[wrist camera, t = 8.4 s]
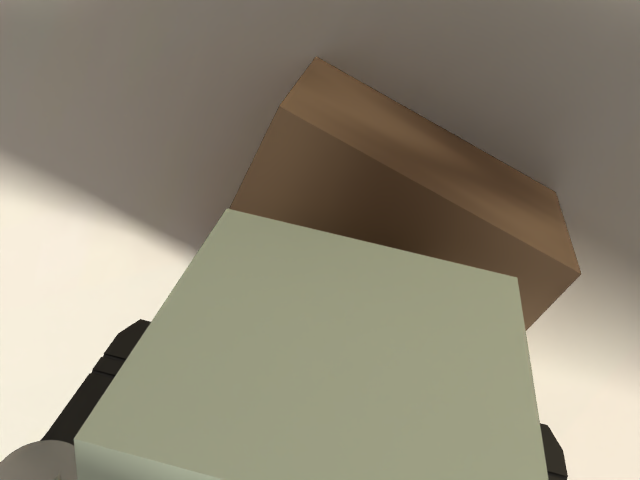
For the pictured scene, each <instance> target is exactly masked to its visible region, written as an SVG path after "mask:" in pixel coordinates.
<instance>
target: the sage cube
mask: <svg viewBox="0 0 640 480" xmlns="http://www.w3.org/2000/svg"><path fill="white" fill-rule="evenodd" d="M74 447H75V458H76V469H77V479H78V480H548V473H547V467H546V460H545V454H544V447H543V441H542V434H541V428H540V421H539V415H538V408H537V402H536V395H535V389H534V383H533V376H532V370H531V363H530V357H529V350H528V344H527V337H526V331H525V324H524V318H523V311H522V305H521V298H520V292H519V285H518V279H517V277H513V276H509V275H505V274H500V273H496V272H492V271H488V270H484V269H479V268H475V267H471V266H467V265H463V264H458V263H454V262H450V261H446V260H441V259H437V258H433V257H429V256H425V255H420V254H416V253H412V252H408V251H404V250H399V249H395V248H391V247H387V246H383V245H378V244H374V243H370V242H366V241H362V240H357V239H353V238H349V237H345V236H341V235H336V234H332V233H328V232H324V231H320V230H315V229H311V228H307V227H303V226H299V225H294V224H290V223H286V222H282V221H278V220H273V219H269V218H265V217H261V216H257V215H252V214H248V213H244V212H240V211H236V210H231V209H226V210H225V212H224V213H223V215H222V216H221V218H220V219H219V221H218V222H217V224H216V225H215V227H214V228H213V230H212V231H211V233H210V234H209V236H208V237H207V239H206V240H205V242H204V243H203V245H202V246H201V248H200V249H199V251H198V252H197V254H196V255H195V257H194V258H193V260H192V261H191V263H190V264H189V266H188V267H187V269H186V270H185V272H184V273H183V275H182V276H181V278H180V280H179V281H178V283H177V284H176V286H175V287H174V289H173V290H172V292H171V293H170V295H169V296H168V298H167V299H166V301H165V302H164V304H163V305H162V307H161V308H160V310H159V311H158V313H157V314H156V316H155V317H154V319H153V320H152V322H151V323H150V325H149V326H148V328H147V329H146V331H145V332H144V334H143V335H142V337H141V338H140V340H139V341H138V343H137V344H136V346H135V347H134V349H133V350H132V352H131V353H130V355H129V356H128V358H127V359H126V361H125V362H124V364H123V365H122V367H121V368H120V370H119V371H118V373H117V374H116V376H115V377H114V379H113V380H112V382H111V383H110V385H109V386H108V388H107V389H106V391H105V392H104V394H103V395H102V397H101V398H100V400H99V401H98V403H97V404H96V406H95V407H94V409H93V411H92V412H91V414H90V415H89V417H88V418H87V420H86V421H85V423H84V424H83V426H82V427H81V429H80V430H79V432H78V433H77V435H76V436H75V438H74Z"/></svg>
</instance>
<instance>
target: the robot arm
mask: <svg viewBox="0 0 640 480" xmlns="http://www.w3.org/2000/svg"><path fill="white" fill-rule="evenodd" d="M150 323H151V322H149V321H145V320H141V319H140V320H138V321H137V322H135V323H134V324H132V325H131V326H129V327H128V328H126V329H125V330H123V331H121V332H120V333H118V335H117V336H116V337H115V339H114V340H113V342H112V343H111V344H110V346H109V347H108V348H107V350H106V351H105V353H104V356H103V357H101V358H100V360H99V361H98V362H97V364H96V365H95V367H94V368H93V370H92V373H91V374H89V375H88V376H87V378H86V379H85V381H84V382H83V383H82V385H81V386H80V387H79V389H78V390H77V392H76V393H75V394H74V396H73V397H72V399H71V400H70V401H69V403H68V404H67V406H66V407H65V408H64V410H63V411H62V413H61V414H60V415H59V417H58V418H57V419H56V421H55V422H54V424H53V425H52V426H51V428H50V429H49V431H48V432H47V433H46V435H45V436H44V437H43V438H42V439H41V440H40V441H37V442H34V443H30V444H27V445H25V446H22V447H21V448H19V449H17V450H15V451H14V452H12V453H11V454H9V455H8V456H7V457H6V458H5V459H4V460H3V461H1V462H0V480H78V479H77V469H76V458H75V447H74V438H75V436H76V435H77V433H78V432H79V430H80V429H81V427H82V426H83V424H84V423H85V421H86V420H87V418H88V417H89V415H90V414H91V412H92V411H93V409H94V407H95V406H96V404H97V403H98V401H99V400H100V398H101V397H102V395H103V394H104V392H105V391H106V389H107V388H108V386H109V385H110V383H111V382H112V380H113V379H114V377H115V376H116V374H117V373H118V371H119V370H120V368H121V367H122V365H123V364H124V362H125V361H126V359H127V358H128V356H129V355H130V353H131V352H132V350H133V349H134V347H135V346H136V344H137V343H138V341H139V340H140V338H141V337H142V335H143V334H144V332H145V331H146V329H147V328H148V326H149V325H150ZM540 428H541V434H542V441H543V447H544V454H545V460H546V467H547V473H548V480H567V477H568V475H567V470H566V464H565V459H564V454H563V450H562V448H561V446H560V445H559V443H558V442H557V440H556V438H555V437H554V435H553V433H552V432H551V430H550V428H549V427H548V425H545V424H541V423H540Z"/></svg>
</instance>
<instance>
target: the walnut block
mask: <svg viewBox="0 0 640 480" xmlns="http://www.w3.org/2000/svg"><path fill="white" fill-rule="evenodd" d="M229 209H231V210H236V211H240V212H244V213H248V214H252V215H257V216H261V217H265V218H269V219H273V220H278V221H282V222H286V223H290V224H294V225H299V226H303V227H307V228H311V229H315V230H320V231H324V232H328V233H332V234H336V235H341V236H345V237H349V238H353V239H357V240H362V241H366V242H370V243H374V244H378V245H383V246H387V247H391V248H395V249H399V250H404V251H408V252H412V253H416V254H420V255H425V256H429V257H433V258H437V259H441V260H446V261H450V262H454V263H458V264H463V265H467V266H471V267H475V268H479V269H484V270H488V271H492V272H496V273H500V274H505V275H509V276H513V277H517V279H518V285H519V292H520V298H521V305H522V311H523V318H524V324H525V331H526V330H527V329H528V328H529V327H530V326H531V325H532V324H533V323H534V322H535V321H536V320H537V319H538V318H539V317H540V316H541V315H542V314H543V313H544V312H545V311H546V310H547V309H548V308H549V307H550V306H551V305H552V304H553V303H554V302H555V300H556V299H557V298H558V297H559V296H560V295H561V294H562V293H563V292H564V291H565V290H566V289H567V288H568V287H569V286H570V285H571V284H572V283H573V282H574V281H575V280H576V279H577V278H578V277H579V276H580V275H581V271H580V268H579V265H578V262H577V258H576V255H575V252H574V249H573V246H572V242H571V239H570V236H569V233H568V230H567V227H566V223H565V220H564V217H563V214H562V211H561V207H560V204H559V201H558V198H557V195H556V192H554V191H553V190H551V189H549V188H547V187H546V186H544V185H542V184H540V183H539V182H537V181H535V180H533V179H532V178H530V177H528V176H526V175H524V174H523V173H521V172H519V171H517V170H516V169H514V168H512V167H510V166H509V165H507V164H505V163H503V162H502V161H500V160H498V159H496V158H494V157H493V156H491V155H489V154H487V153H486V152H484V151H482V150H480V149H479V148H477V147H475V146H473V145H472V144H470V143H468V142H466V141H464V140H463V139H461V138H459V137H457V136H456V135H454V134H452V133H450V132H449V131H447V130H445V129H443V128H442V127H440V126H438V125H436V124H434V123H433V122H431V121H429V120H427V119H426V118H424V117H422V116H420V115H419V114H417V113H415V112H413V111H412V110H410V109H408V108H406V107H404V106H403V105H401V104H399V103H397V102H396V101H394V100H392V99H390V98H389V97H387V96H385V95H383V94H382V93H380V92H378V91H376V90H374V89H373V88H371V87H369V86H367V85H366V84H364V83H362V82H360V81H359V80H357V79H355V78H353V77H352V76H350V75H348V74H346V73H344V72H343V71H341V70H339V69H337V68H336V67H334V66H332V65H330V64H329V63H327V62H325V61H323V60H322V59H320V58H318V57H315V58H314V60H313V61H312V62H311V64H310V65H309V66H308V68H307V69H306V70H305V72H304V73H303V75H302V76H301V77H300V79H299V80H298V81H297V83H296V84H295V85H294V87H293V88H292V89H291V91H290V92H289V93H288V95H287V96H286V97H285V99H284V100H283V102H282V103H281V104H280V106H279V107H278V109H277V111H276V114H275V116H274V118H273V120H272V122H271V124H270V126H269V128H268V130H267V132H266V134H265V136H264V138H263V140H262V142H261V144H260V147H259V149H258V151H257V153H256V155H255V157H254V159H253V161H252V163H251V165H250V167H249V169H248V171H247V173H246V175H245V177H244V180H243V182H242V184H241V186H240V188H239V190H238V192H237V194H236V196H235V198H234V200H233V202H232V204H231V206H230V208H229Z"/></svg>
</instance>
